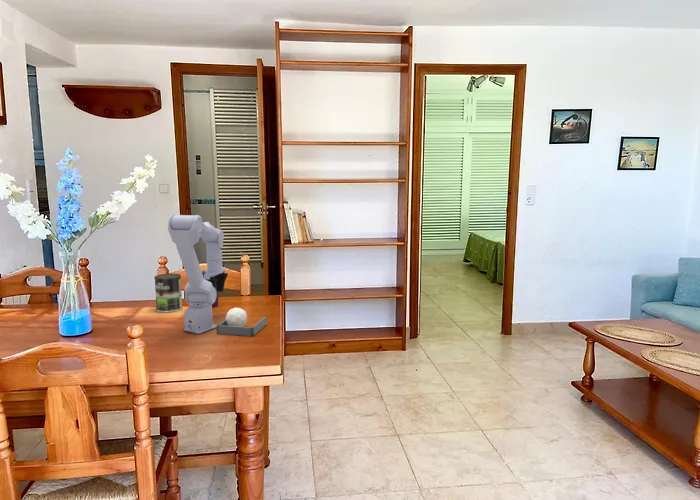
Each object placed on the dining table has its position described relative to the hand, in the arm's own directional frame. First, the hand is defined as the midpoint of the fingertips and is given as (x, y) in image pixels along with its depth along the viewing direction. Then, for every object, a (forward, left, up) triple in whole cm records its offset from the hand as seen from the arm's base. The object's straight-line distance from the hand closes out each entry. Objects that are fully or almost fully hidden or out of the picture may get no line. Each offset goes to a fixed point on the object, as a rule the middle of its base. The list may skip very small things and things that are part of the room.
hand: (215, 293), depth 196 cm
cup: (+11, +14, -10) cm, 20 cm away
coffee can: (-2, +25, -10) cm, 27 cm away
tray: (-6, -19, -9) cm, 22 cm away
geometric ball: (-6, -17, -10) cm, 20 cm away
